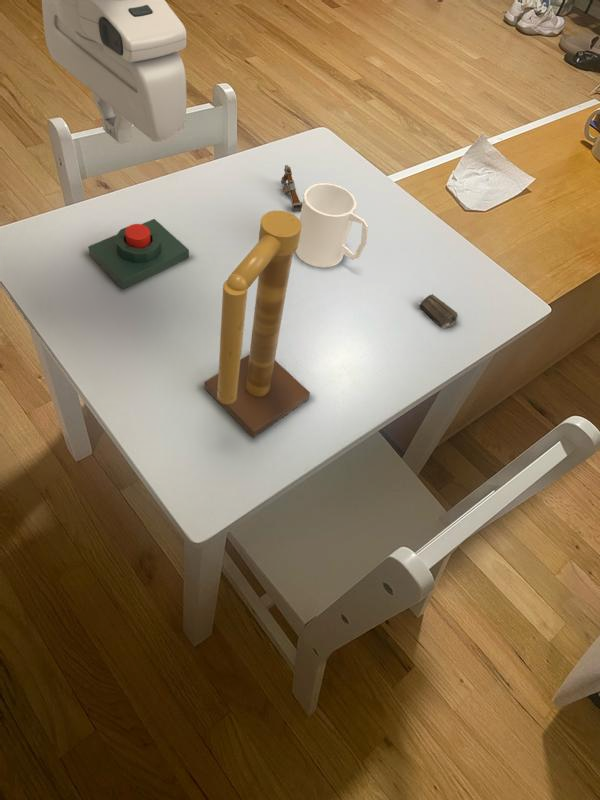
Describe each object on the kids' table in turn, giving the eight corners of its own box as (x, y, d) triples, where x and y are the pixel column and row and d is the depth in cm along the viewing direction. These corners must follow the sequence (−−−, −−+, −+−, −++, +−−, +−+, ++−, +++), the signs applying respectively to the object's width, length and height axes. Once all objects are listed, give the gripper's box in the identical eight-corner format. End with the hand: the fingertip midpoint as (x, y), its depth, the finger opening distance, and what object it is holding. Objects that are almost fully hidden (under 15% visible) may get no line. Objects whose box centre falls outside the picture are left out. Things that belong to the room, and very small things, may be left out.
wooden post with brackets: (285, 176, 109) (292, 161, 105) (297, 216, 108) (304, 203, 104) (276, 177, 109) (282, 162, 104) (287, 217, 108) (294, 204, 103)
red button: (135, 252, 89) (134, 242, 88) (121, 238, 90) (120, 229, 89) (155, 243, 91) (154, 233, 90) (141, 230, 92) (140, 220, 91)
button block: (123, 289, 89) (121, 271, 86) (89, 255, 92) (86, 236, 89) (189, 258, 95) (188, 240, 92) (154, 227, 98) (153, 209, 95)
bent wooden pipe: (257, 328, 74) (272, 205, 60) (285, 341, 74) (308, 220, 59) (206, 395, 67) (210, 274, 53) (237, 411, 67) (250, 292, 52)
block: (429, 299, 97) (433, 291, 95) (459, 320, 95) (463, 312, 94) (416, 309, 95) (419, 301, 94) (446, 331, 93) (450, 323, 92)
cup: (341, 287, 96) (354, 237, 88) (284, 248, 99) (293, 196, 91) (370, 264, 100) (386, 214, 92) (315, 228, 103) (326, 176, 95)
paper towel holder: (253, 438, 77) (274, 294, 56) (204, 388, 80) (207, 236, 60) (308, 399, 82) (346, 253, 61) (260, 353, 85) (281, 202, 65)
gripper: (14, -41, 58) (41, 99, 69) (139, 52, 51) (148, 192, 62) (73, -49, 61) (90, 86, 72) (198, 38, 54) (196, 173, 65)
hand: (117, 136), depth 67 cm, fingers closed
